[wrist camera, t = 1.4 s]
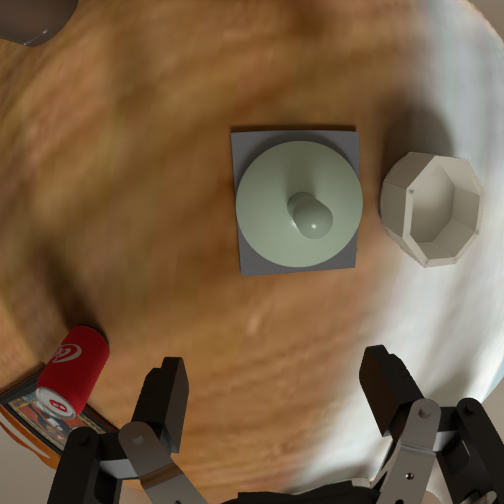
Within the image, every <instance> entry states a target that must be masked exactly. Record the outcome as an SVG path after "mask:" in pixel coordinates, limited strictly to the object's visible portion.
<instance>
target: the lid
mask: <svg viewBox="0 0 504 504" xmlns="http://www.w3.org/2000/svg"><path fill="white" fill-rule="evenodd" d="M362 206H363V199H362V191H361V186H360V183H359V180H358V178H357V176H356V173H355V172H354V170H353V169H352V167H351V166H350V164H349V163H348V162H347V161H346V160H345V159H344V158H343V157H342V156H341V155H340V154H338V153H337V152H336V151H334V150H333V149H331V148H329V147H327V146H324V145H322V144H319V143H314V142H309V141H291V142H286V143H281V144H279V145H276V146H273V147H271V148H270V149H268V150H266V151H264V152H263V153H262V154H260V155H259V156H258V157H257V158H256V159H255V160H254V161H253V162H252V163H251V164H250V165H249V167H248V168H247V169H246V171H245V173H244V174H243V176H242V179H241V181H240V183H239V187H238V191H237V197H236V214H237V220H238V223H239V227H240V229H241V232H242V234H243V236H244V237H245V239H246V241H247V242H248V243H249V244H250V246H251V247H252V248H253V249H254V250H255V251H256V252H257V253H258V254H260V255H261V256H262V257H264V258H266V259H267V260H269V261H271V262H274V263H276V264H279V265H283V266H288V267H307V266H312V265H316V264H319V263H321V262H324V261H326V260H328V259H330V258H332V257H333V256H334V255H336V254H337V253H339V252H340V251H341V250H342V249H343V248H344V247H345V246H346V245H347V244H348V242H349V241H350V240H351V238H352V237H353V235H354V233H355V232H356V230H357V227H358V225H359V222H360V219H361V214H362Z"/></svg>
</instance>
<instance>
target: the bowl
mask: <svg viewBox="0 0 504 504" xmlns="http://www.w3.org/2000/svg"><path fill="white" fill-rule="evenodd" d="M484 196H485V192H484V190H483V188H482V186H481V184H480V182H479V180H478V178H477V176H476V174H475V172H474V170H473V168H472V166H471V165H470V163H469V161H468V160H467V159H461V158H456V157H450V156H445V155H438V154H429V153H420V152H409V153H408V154H407V155H406V156H404V157H402V158H401V159H399V160H398V161H397V162H396V163H395V164H394V165H393V166H392V167H391V168H390V170H389V171H388V173H387V175H386V177H385V179H384V181H383V184H382V187H381V191H380V197H379V210H380V216H381V224H382V226H383V227H384V228H385V230H386V231H387V233H388V234H389V236H390V237H391V238H392V239H393V240H395V241H396V243H397V244H398V245H399V246H400V248H401V249H402V250H403V251H404V252H405V253H407V254H408V255H409V256H410V257H412V258H413V259H414V260H415V261H417V262H418V263H419V264H420V265H422V266H423V267H424V268H426V267H434V266H443V265H450V264H455V263H457V262H458V260H459V259H460V258H461V257H462V256H463V254H464V253H465V252H466V251H467V249H468V248H469V247H470V246H471V244H472V243H473V242H474V241H475V239H476V238H477V237H478V235H479V234H480V228H481V221H482V214H483V206H484Z"/></svg>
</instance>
